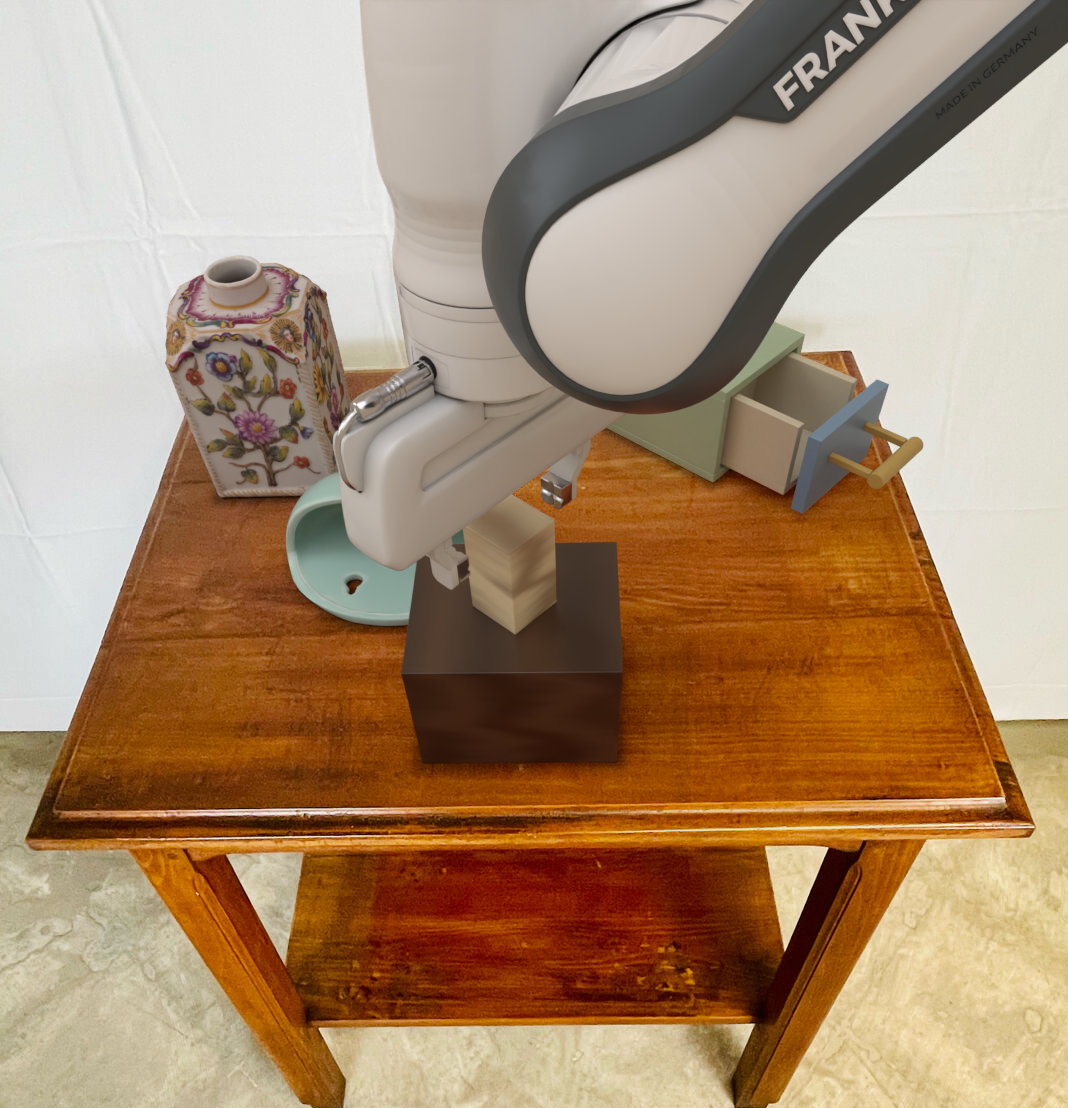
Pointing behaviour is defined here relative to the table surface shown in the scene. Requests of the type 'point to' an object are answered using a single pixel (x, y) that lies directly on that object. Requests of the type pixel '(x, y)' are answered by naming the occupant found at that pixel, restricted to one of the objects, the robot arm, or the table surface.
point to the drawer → (808, 430)
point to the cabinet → (705, 414)
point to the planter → (343, 563)
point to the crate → (518, 669)
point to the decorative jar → (257, 376)
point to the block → (512, 563)
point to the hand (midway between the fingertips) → (507, 538)
